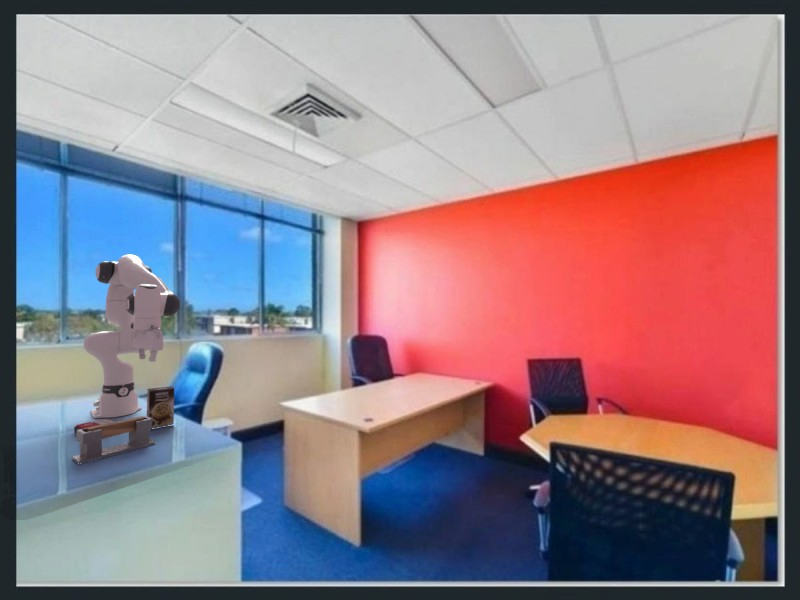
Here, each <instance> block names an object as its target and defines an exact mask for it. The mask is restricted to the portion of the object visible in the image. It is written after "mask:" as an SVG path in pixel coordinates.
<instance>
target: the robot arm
mask: <svg viewBox="0 0 800 600" xmlns="http://www.w3.org/2000/svg"><path fill="white" fill-rule="evenodd" d="M94 273H95V277H96V280H97V281H98V282H99V283H102V284H105V285H108V284H109V285H108V288H107V290H106V291H107V293H106V297H105V298H106V299H105V319H106V321H108V322H109V323H111V324H113V325H116V326H118V327H120V328H121V330H109V331H108V330H105V331H97V332H92V333H89V334H88V335H87V336H86V337H85V339H84V341H83V348H84V351H85V352H87V353H88V355H90V356H93V357H94V358H95V359H96V360H98V362H99V363H100V364H101V367H102V371H103V384H102V387H101V394H100V396H98V398H97V400H96V401H93V407H96V408H93V409H90V413H91V416H92V418H93V419H101V418H117V417H123V416H128V415H132V414H134V413H137V412H138V411H140V410H142V406H139V398H138V393H137V392H136V391H135V381H134V367H133V365H132V364H131V363H129V362H127V361H124V360H122V359H120V358H118V356H119V355H125V354H127V355H128V354H137V353H138V358H139V359H140V360H145V359H146V356H147V355H146V353H145V352H146V351H149V357H148V361H149V362H150V363H153V362H157V361H156V359H157V358H156V357H157V355H158V351H162V350H163V349H164V335H163V331H162V330H161V329H162V316H163V317H172V316H175V314H177V312H179V310H180V299H179V297H178V296H177V295H176V294H175V293H174V292H172V291H171V289H170V288H169V287H168V286H167V283H165V282H164V281H163V279H162V278H161V277H159V276H157V274H154V273H153V271H152V268H151V267H150V266H147V265H145V263H144V262H143V260H142V259H141V258H140V257H139V256H137V255H134V254H125V255H122V256H120V257H119V258H118V260H117V261H112V260H105V261H102V262H98V264H97V266H96V268H95V271H94ZM134 291H135V292H134Z"/></svg>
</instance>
